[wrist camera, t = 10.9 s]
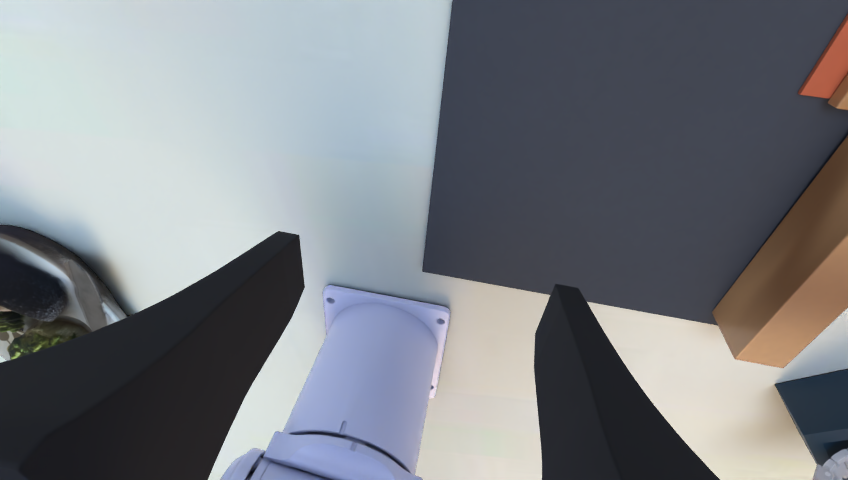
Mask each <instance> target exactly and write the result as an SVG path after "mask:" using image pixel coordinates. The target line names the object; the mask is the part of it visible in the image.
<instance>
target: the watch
mask: <svg viewBox="0 0 848 480" xmlns="http://www.w3.org/2000/svg"><path fill="white" fill-rule="evenodd" d="M775 386H776V388H777V390H778V392H779V394H780V396H781V398H782V400H783V402H784V404H785V406H786V408H787V410H788V412H789V414H790V416H791V417H792V419H793V421H794V423H795V425H796V427H797V429H798V431H799V433H800V435H801V437H802V439H803V440H804V442H805V444H806V446H807V448H808V449H809V451H810V453H811V455H812V457H813V458H814V460H815V462H816V464H817V467H816V470H815V473H814V476H813V480H848V369H847V370H842V371H837V372H832V373H828V374H823V375H818V376H813V377H808V378H803V379H799V380H794V381H789V382H784V383H779V384H775Z"/></svg>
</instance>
